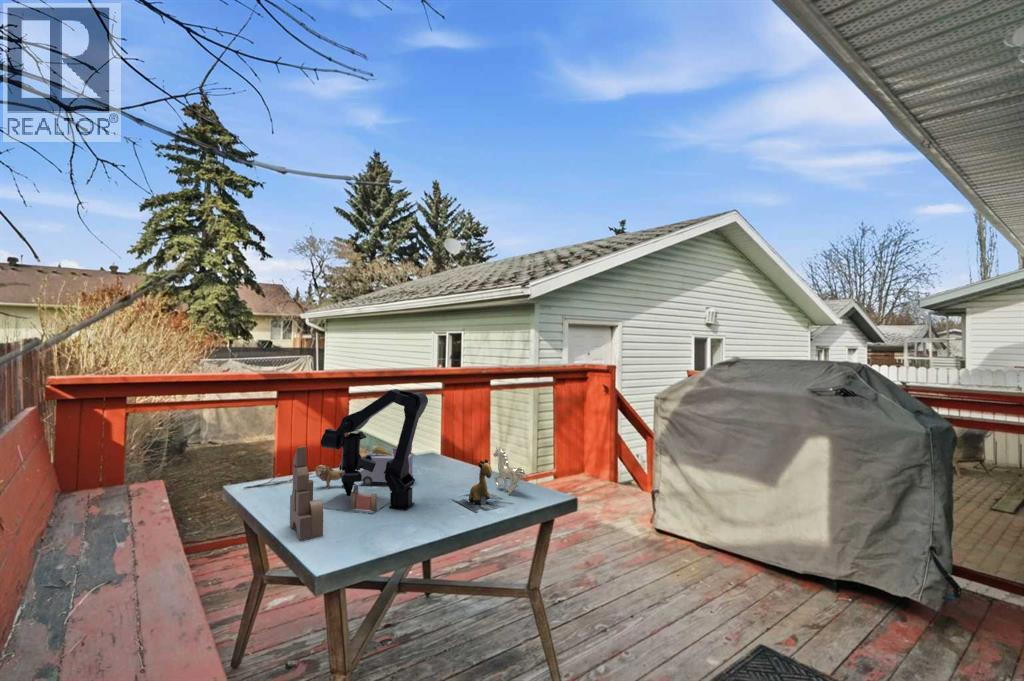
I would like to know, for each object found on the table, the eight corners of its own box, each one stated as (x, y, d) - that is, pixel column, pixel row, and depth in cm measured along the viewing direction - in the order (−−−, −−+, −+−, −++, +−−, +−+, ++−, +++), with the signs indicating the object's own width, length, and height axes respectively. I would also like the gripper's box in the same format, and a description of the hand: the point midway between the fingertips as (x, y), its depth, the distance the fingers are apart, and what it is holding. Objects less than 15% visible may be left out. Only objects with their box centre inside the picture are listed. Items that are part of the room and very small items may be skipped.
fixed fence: (377, 510, 163) (377, 493, 163) (374, 512, 161) (374, 495, 161) (352, 507, 165) (353, 491, 165) (349, 509, 164) (350, 492, 164)
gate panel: (356, 505, 166) (356, 493, 166) (352, 505, 165) (352, 493, 165) (358, 496, 175) (358, 484, 175) (354, 496, 175) (354, 484, 175)
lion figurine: (314, 491, 183) (314, 467, 183) (315, 487, 188) (316, 463, 188) (355, 488, 187) (356, 464, 187) (356, 484, 192) (356, 461, 192)
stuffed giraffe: (475, 513, 162) (477, 464, 163) (448, 500, 176) (450, 455, 177) (514, 506, 172) (515, 460, 172) (485, 494, 186) (487, 451, 187)
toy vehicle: (365, 479, 198) (366, 442, 198) (413, 481, 198) (414, 443, 198) (357, 486, 189) (358, 447, 189) (408, 488, 188) (408, 448, 188)
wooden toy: (324, 536, 142) (325, 449, 142) (299, 541, 138) (300, 452, 138) (311, 519, 155) (312, 440, 155) (288, 523, 151) (289, 442, 151)
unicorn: (529, 499, 177) (530, 451, 177) (521, 501, 175) (521, 452, 175) (497, 485, 193) (498, 441, 193) (489, 487, 191) (489, 443, 191)
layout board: (395, 499, 174) (395, 498, 174) (372, 514, 160) (372, 513, 160) (342, 494, 180) (342, 493, 180) (316, 507, 165) (316, 506, 165)
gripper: (378, 456, 166) (375, 502, 166) (371, 444, 183) (369, 486, 183) (343, 457, 162) (340, 504, 162) (340, 445, 179) (337, 488, 179)
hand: (348, 495), depth 171 cm, fingers closed
